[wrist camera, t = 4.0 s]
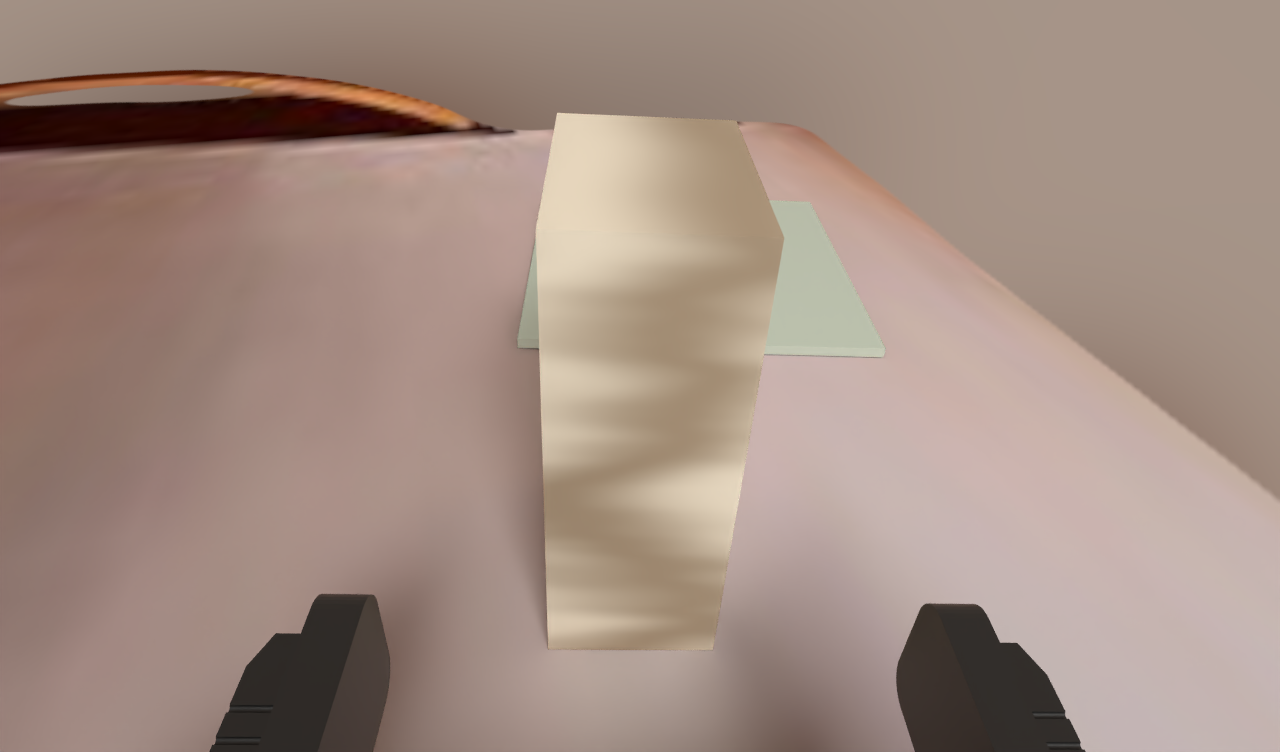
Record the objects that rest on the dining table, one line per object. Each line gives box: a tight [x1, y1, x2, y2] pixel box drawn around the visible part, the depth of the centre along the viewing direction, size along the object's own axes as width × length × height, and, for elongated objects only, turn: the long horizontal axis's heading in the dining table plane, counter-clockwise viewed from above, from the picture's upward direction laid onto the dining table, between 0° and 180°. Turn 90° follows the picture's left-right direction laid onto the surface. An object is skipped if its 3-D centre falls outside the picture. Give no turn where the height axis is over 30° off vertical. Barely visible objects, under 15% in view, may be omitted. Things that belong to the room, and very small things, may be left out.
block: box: [536, 113, 784, 650], centre depth 18 cm, size 4×6×11 cm, turn 1°
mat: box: [517, 200, 886, 357], centre depth 35 cm, size 14×14×1 cm
